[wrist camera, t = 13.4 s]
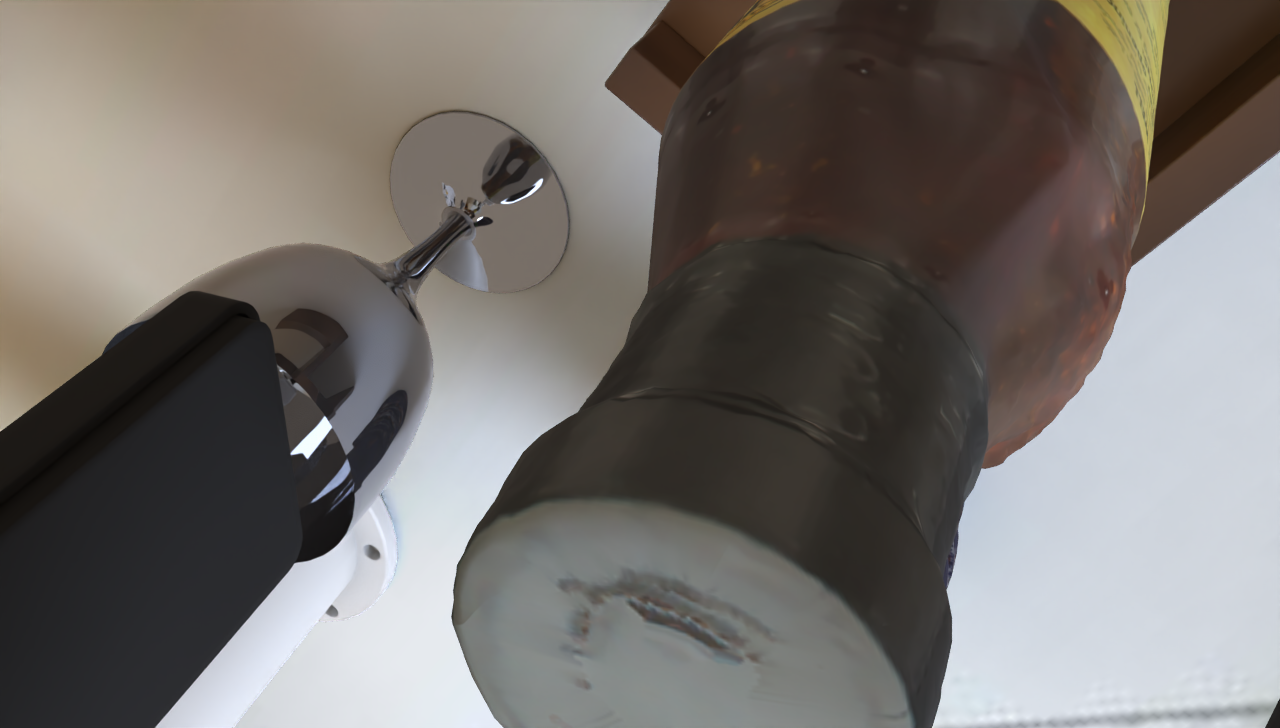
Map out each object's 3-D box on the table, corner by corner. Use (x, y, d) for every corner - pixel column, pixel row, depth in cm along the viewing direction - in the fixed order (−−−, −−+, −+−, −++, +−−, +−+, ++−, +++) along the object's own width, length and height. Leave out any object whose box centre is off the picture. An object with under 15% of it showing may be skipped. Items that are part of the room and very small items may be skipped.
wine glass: (340, 171, 45) (48, 391, 33) (477, 56, 40) (192, 265, 29) (478, 334, 47) (248, 596, 35) (623, 242, 42) (413, 508, 31)
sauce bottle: (1032, -289, 22) (697, 109, 7) (1243, -32, 23) (1375, 825, 8) (781, -42, 26) (210, 565, 11) (971, 168, 27) (700, 998, 12)
